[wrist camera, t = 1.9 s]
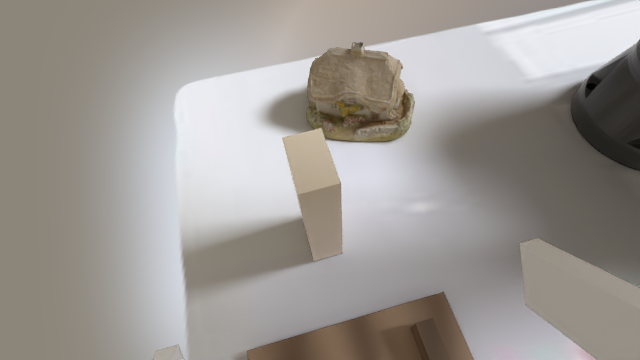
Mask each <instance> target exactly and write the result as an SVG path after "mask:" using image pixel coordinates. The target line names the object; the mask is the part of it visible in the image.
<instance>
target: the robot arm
mask: <svg viewBox="0 0 640 360" xmlns="http://www.w3.org/2000/svg"><path fill="white" fill-rule="evenodd" d="M571 111H572V116H573V119H574V122H575V124H576V126H577V127H578V129H579V131H580V132H581V133H582V135H583V136H584V137H585V138H586V139H587V140H588V141H589V142H590V143H591V144H592V145H593V146H594V147H595V148H597V149H598V150H599V151H601V152H602V153H604V154H605V155H607V156H608V157H610V158H612V159H614V160H615V161H617V162H619V163H622V164H624V165H626V166H629V167H631V168H634V169H637V170H640V40H639V41H638V42H637V43H636V44H635V45H633V46H632V47H630V48H629V49H627V50H626V51H624V52H623V53H621V54H620V55H618V56H617V57H615V58H614V59H612V60H611V61H609V62H608V63H606V64H605V65H604V66H602V67H601V68H599V69H598V70H596V71H595V72H593V73H592V74H591V75H590V76H589V77H588V78H587V79H586V80H585V81H584V82H583V84H582V85H581V86H580V88H579V89H578V90H577V91H576V93H575V94H574V96H573V99H572V103H571ZM520 253H521V263H522V273H523V283H524V293H525V303H526V306H528V307H529V308H530V309H531V310H533V311H534V312H535V313H537V314H538V315H539V316H541V317H542V318H543V319H544V320H546V321H547V322H548V323H550V324H551V325H552V326H554V327H555V328H556V329H557V330H559V331H560V332H561V333H563V334H564V335H565V336H567V337H568V338H569V339H571V340H572V341H573V342H574V343H576V344H577V345H578V346H580V347H581V348H582V349H584V350H585V351H586V352H587V353H589V354H590V355H591V356H593V357H594V358H595V359H597V360H640V288H639V287H637V286H635V285H633V284H631V283H629V282H626V281H624V280H622V279H620V278H618V277H616V276H614V275H612V274H610V273H608V272H606V271H604V270H602V269H600V268H598V267H596V266H594V265H592V264H590V263H588V262H585V261H583V260H581V259H579V258H577V257H575V256H573V255H571V254H569V253H567V252H565V251H563V250H561V249H559V248H557V247H555V246H553V245H551V244H549V243H547V242H544V241H542V240H540V239H538V238H536V239H533V240H529V241H526V242H523V243H520ZM153 360H184V358H183V356H182V353H181V350H180V348H179V345H175V346H172V347H169V348H165V349H162V350H158V351H156V353H155V355H154V357H153Z"/></svg>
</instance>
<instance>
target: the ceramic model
mask: <svg viewBox="0 0 640 360" xmlns="http://www.w3.org/2000/svg"><path fill="white" fill-rule="evenodd" d="M364 46H365V44H364V43H355V42H353V43H352V48H351V49H345V48H338V47H337V48H330V49H329V50H328V51H327V52H326V53H325V54H323V55H322V56H321V57H319V58H315V60H314V61H313V63H312V66H311V68H310V74H309V79H308V91H307V92H308V99H309V100H310V105H309V108H308V109H307V112H306V116H307V121H308V122H309V123H310V124H311V126H312V127H313V128H314V129H319V128H322V131H323V134H324V136H326V137H327V138H330V139H335V140H348V141H364V142H373V141H390V140H393V139H397V138H400V137H402V136H403V135H404V134H405V133H406V132H407V130H408V129H409V128H410V125H411V123H412V122H411V117H412V113H413V108H414V104H415V102H414V97H413V94H411V93H408V90H407V89H406V90H405V86H404V83H403V81H402V80H401V79H400V73H401V69H402V68H403V66H402V64H401V62H400V60H397V59H395V58H393V57H391V56H390V55H388V53H386V52H381V51H370V50H365V48H364Z"/></svg>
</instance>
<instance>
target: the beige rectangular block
mask: <svg viewBox="0 0 640 360" xmlns="http://www.w3.org/2000/svg"><path fill="white" fill-rule="evenodd" d="M282 139H283V143H284V147H285V151H286V155H287V159H288V163H289V167H290V171H291V175H292V179H293V183H294V187H295V191H296V195H297V199H298V203H299V207H300V211H301V215H302V219H303V223H304V226H305V230H306V234H307V237H308V241H309V245H310V249H311V252H312V256H313V260H314V261H317V260H321V259H324V258H328V257H331V256H335V255H338V254H342V211H341V182H340V179H339V177H338V174H337V171H336V168H335V165H334V162H333V160H332V157H331V154H330V151H329V148H328V145H327V143H326V140H325V137H324V134H323V131H322V128H319V129H315V130H311V131H307V132H303V133H299V134H295V135H291V136H287V137H283V138H282Z"/></svg>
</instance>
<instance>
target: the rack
mask: <svg viewBox="0 0 640 360" xmlns="http://www.w3.org/2000/svg"><path fill="white" fill-rule="evenodd" d="M247 354H248V360H474V359H473V356H472V354H471V352H470V350H469V347H468V345H467V343H466V341H465V339H464V336H463V334H462V332H461V330H460V327H459V325H458V323H457V321H456V319H455V316H454V314H453V312H452V310H451V307H450V305H449V303H448V301H447V298H446V296H445V294H444V292H442V293H438V294H435V295H432V296H428V297H425V298H422V299H418V300H415V301H412V302H408V303H405V304H402V305H398V306H395V307H392V308H388V309H385V310H382V311H378V312H375V313H372V314H368V315H365V316H362V317H359V318H355V319H352V320H349V321H345V322H342V323H339V324H335V325H332V326H329V327H325V328H322V329H319V330H315V331H312V332H309V333H305V334H302V335H299V336H295V337H292V338H289V339H285V340H282V341H279V342H275V343H272V344H269V345H265V346H262V347H259V348H255V349H252V350H249V351H247Z"/></svg>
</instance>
